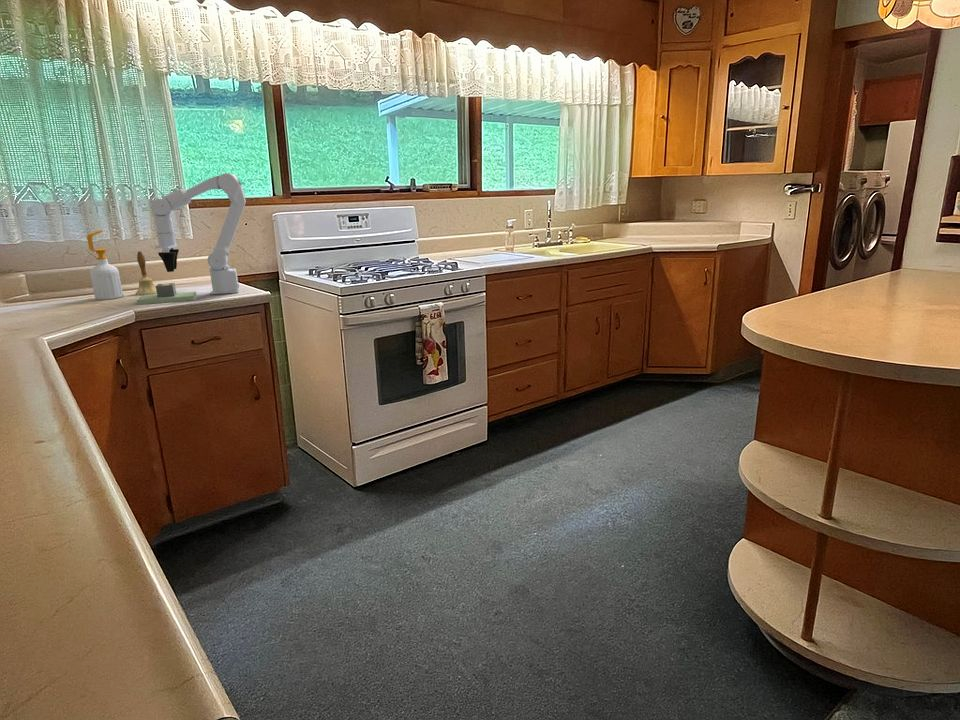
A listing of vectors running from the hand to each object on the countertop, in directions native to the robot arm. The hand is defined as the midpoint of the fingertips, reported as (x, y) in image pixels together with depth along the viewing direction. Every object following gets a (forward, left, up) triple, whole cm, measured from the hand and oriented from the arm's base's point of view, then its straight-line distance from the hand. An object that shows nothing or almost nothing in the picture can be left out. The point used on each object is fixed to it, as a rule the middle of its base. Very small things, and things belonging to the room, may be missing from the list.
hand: (172, 270), depth 226 cm
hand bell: (+12, -11, -10) cm, 19 cm away
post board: (+2, +9, -9) cm, 13 cm away
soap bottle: (+24, -6, -10) cm, 26 cm away
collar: (+2, +9, -8) cm, 12 cm away
